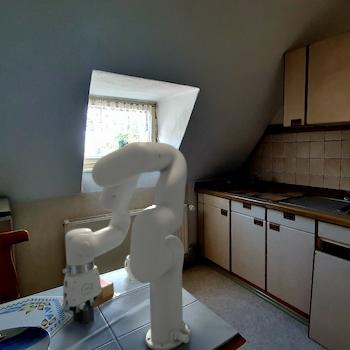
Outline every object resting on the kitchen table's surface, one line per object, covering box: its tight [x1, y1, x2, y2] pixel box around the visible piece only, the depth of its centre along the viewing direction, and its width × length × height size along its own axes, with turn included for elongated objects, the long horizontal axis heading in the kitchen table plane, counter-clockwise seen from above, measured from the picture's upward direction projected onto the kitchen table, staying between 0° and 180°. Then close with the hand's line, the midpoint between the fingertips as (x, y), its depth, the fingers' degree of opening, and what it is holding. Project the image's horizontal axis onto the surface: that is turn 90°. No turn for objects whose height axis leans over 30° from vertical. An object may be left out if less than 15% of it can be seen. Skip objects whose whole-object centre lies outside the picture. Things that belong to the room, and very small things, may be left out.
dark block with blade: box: [62, 299, 95, 325], centre depth 89 cm, size 16×2×5 cm, turn 63°
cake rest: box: [98, 277, 115, 299], centre depth 103 cm, size 10×4×4 cm, turn 63°
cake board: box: [92, 291, 121, 309], centre depth 101 cm, size 14×12×1 cm
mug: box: [124, 254, 139, 282], centre depth 118 cm, size 9×12×11 cm
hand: (83, 318), depth 87 cm, fingers closed on dark block with blade, 2 cm apart
